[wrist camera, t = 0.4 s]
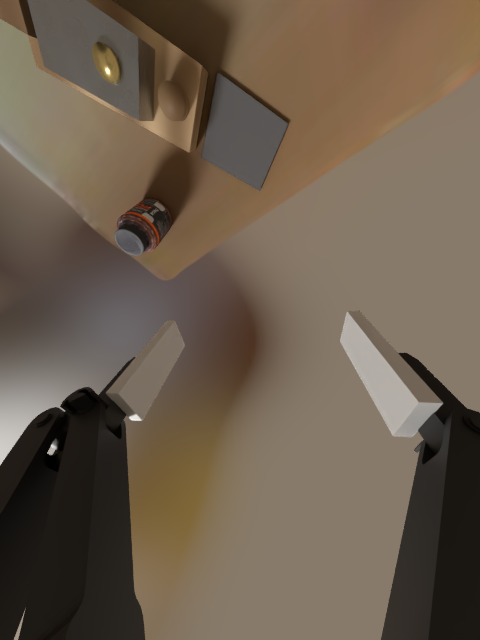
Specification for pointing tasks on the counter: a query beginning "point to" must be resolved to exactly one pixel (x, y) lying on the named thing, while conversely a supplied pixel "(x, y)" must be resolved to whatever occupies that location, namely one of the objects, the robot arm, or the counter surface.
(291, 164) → the counter surface
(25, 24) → the body
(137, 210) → the supplement bottle
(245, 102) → the mat
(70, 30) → the lever cap
